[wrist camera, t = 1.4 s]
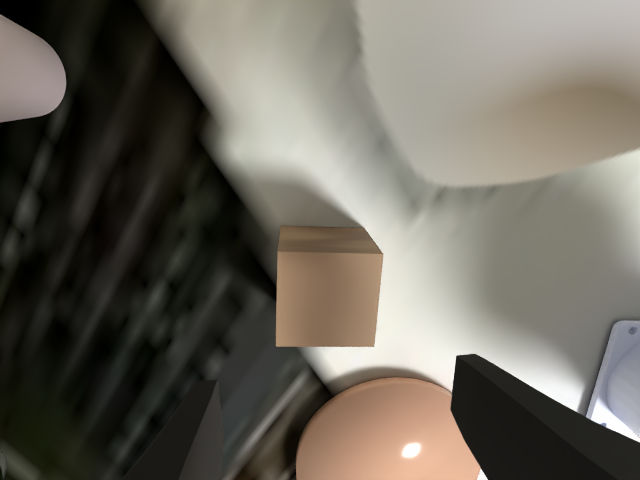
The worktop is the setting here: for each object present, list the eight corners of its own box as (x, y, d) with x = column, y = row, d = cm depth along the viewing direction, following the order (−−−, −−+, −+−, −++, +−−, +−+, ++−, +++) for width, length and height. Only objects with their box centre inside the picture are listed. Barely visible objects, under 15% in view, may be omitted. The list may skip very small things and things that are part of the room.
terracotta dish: (490, 374, 24) (498, 385, 23) (461, 518, 27) (467, 532, 26) (298, 375, 23) (298, 386, 22) (293, 524, 26) (293, 539, 25)
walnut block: (364, 227, 20) (383, 254, 16) (357, 303, 22) (374, 346, 17) (280, 225, 20) (277, 251, 16) (279, 302, 21) (276, 346, 17)
